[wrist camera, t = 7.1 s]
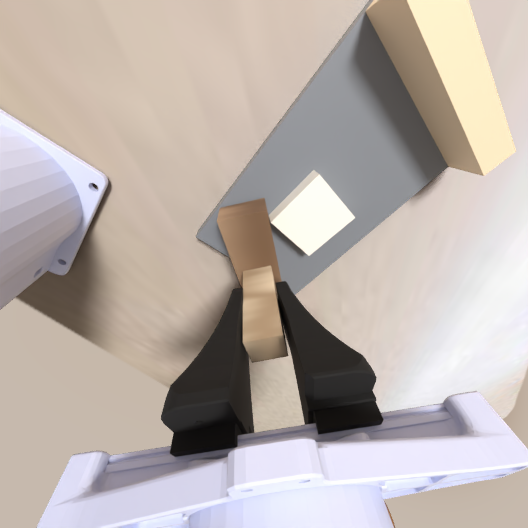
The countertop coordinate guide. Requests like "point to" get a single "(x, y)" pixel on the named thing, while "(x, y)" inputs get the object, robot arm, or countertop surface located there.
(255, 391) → the countertop surface
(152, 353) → the countertop surface
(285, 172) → the board
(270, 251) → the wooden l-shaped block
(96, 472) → the robot arm
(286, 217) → the tile
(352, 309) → the countertop surface
